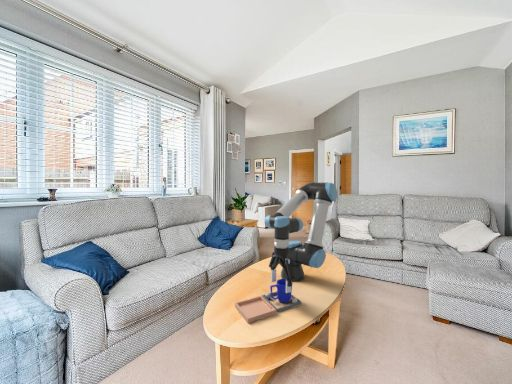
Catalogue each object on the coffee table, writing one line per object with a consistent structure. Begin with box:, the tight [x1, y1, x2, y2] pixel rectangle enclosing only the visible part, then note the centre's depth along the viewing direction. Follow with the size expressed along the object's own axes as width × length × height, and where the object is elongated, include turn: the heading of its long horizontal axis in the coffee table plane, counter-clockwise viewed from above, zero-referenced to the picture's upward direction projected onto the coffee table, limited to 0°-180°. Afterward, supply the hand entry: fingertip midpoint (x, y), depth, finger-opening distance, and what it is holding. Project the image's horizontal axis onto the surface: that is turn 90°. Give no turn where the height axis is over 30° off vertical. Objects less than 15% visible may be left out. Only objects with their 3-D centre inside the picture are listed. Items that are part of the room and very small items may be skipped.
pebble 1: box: [264, 292, 272, 300], centre depth 123 cm, size 3×3×3 cm
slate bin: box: [261, 290, 302, 313], centre depth 121 cm, size 15×15×1 cm
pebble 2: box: [291, 297, 298, 304], centre depth 118 cm, size 3×3×3 cm
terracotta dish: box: [234, 295, 277, 324], centre depth 112 cm, size 15×15×2 cm
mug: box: [269, 278, 293, 304], centre depth 121 cm, size 8×12×10 cm
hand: (280, 286), depth 120 cm, fingers open, 13 cm apart
